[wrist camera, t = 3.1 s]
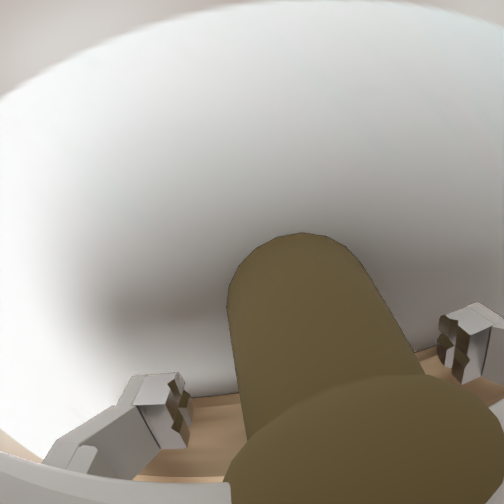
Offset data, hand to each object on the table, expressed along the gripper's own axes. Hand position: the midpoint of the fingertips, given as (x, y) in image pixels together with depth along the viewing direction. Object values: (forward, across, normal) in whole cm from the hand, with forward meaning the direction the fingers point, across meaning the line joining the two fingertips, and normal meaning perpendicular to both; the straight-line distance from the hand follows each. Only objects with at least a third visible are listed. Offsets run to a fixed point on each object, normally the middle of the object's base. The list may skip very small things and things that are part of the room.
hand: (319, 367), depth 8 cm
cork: (+4, 0, 0) cm, 4 cm away
